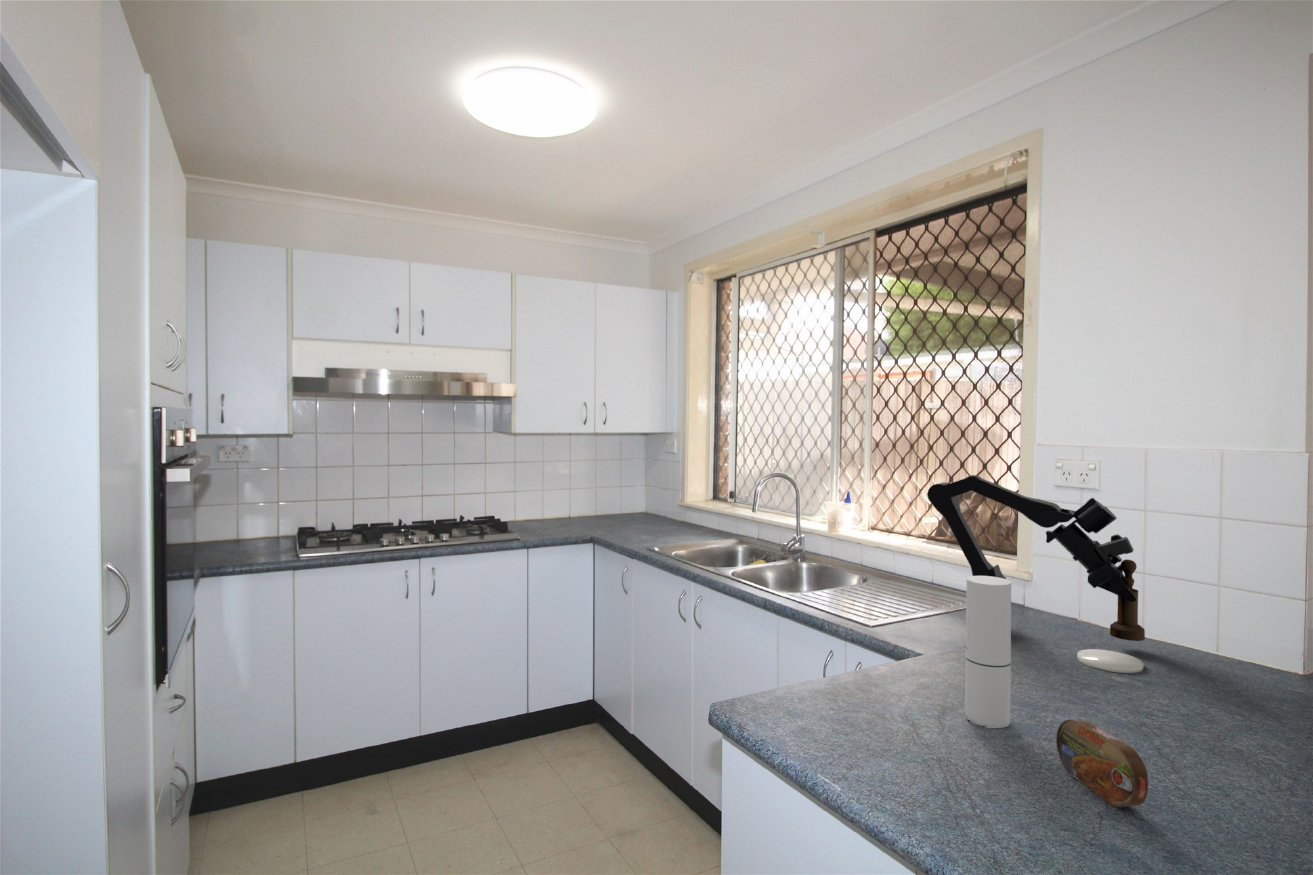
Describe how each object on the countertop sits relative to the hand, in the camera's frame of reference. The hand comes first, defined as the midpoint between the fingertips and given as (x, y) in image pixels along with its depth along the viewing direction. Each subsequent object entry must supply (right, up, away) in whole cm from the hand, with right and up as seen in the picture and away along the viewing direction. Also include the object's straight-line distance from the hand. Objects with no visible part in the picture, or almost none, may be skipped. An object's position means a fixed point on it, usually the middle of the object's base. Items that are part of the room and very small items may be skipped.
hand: (1135, 598), depth 154 cm
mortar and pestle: (-1, -9, +1) cm, 9 cm away
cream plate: (-11, -12, -7) cm, 18 cm away
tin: (-47, -14, -58) cm, 76 cm away
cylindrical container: (-52, -13, -35) cm, 64 cm away
